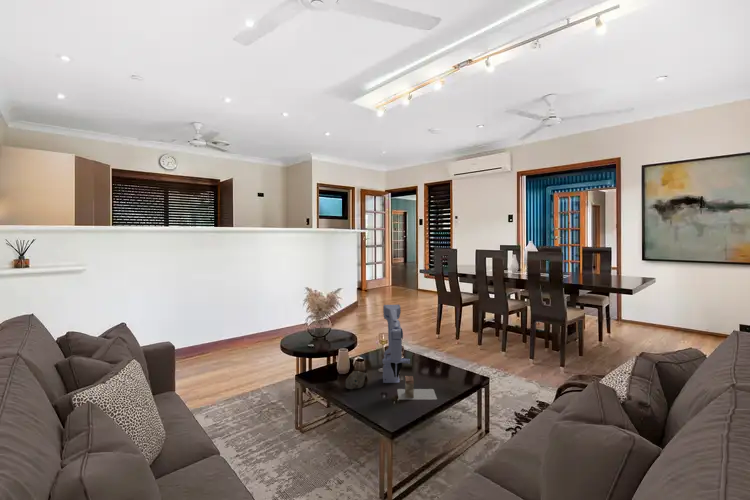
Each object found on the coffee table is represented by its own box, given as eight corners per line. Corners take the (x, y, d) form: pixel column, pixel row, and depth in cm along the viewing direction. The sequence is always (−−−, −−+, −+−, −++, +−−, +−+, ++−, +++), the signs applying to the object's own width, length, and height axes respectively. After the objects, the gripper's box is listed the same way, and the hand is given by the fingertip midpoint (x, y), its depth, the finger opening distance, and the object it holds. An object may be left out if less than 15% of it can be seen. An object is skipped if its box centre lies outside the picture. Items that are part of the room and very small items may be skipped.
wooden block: (405, 397, 188) (406, 380, 188) (405, 392, 194) (405, 376, 194) (413, 397, 188) (413, 380, 188) (412, 392, 194) (412, 376, 194)
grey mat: (398, 400, 186) (398, 399, 186) (397, 389, 198) (397, 389, 198) (437, 400, 186) (437, 399, 186) (433, 389, 198) (433, 389, 198)
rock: (348, 390, 195) (352, 371, 197) (343, 387, 201) (347, 368, 203) (367, 392, 201) (371, 373, 203) (361, 389, 207) (365, 371, 209)
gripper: (382, 354, 186) (382, 379, 187) (410, 354, 186) (410, 379, 187) (382, 349, 193) (382, 374, 194) (409, 349, 193) (409, 374, 194)
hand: (396, 376), depth 191 cm, fingers closed
